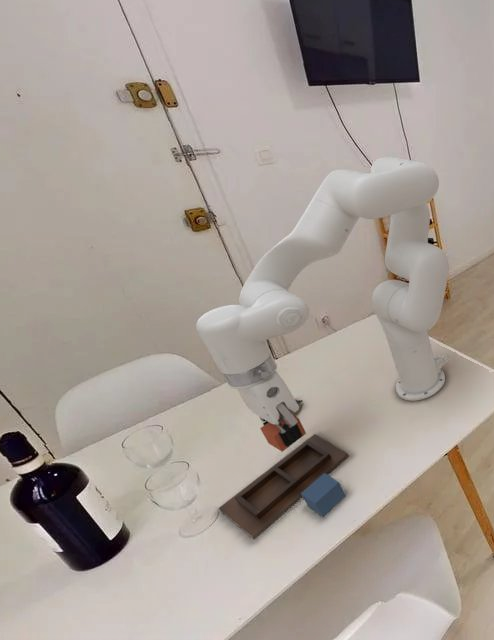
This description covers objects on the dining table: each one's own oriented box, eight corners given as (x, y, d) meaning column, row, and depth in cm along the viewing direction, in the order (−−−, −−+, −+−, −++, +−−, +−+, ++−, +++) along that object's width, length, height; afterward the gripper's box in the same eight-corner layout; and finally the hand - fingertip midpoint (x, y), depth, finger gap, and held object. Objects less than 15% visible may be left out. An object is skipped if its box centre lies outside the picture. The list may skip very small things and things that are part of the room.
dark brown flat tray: (316, 436, 96) (312, 429, 95) (349, 456, 91) (345, 448, 90) (220, 511, 81) (214, 503, 80) (254, 539, 76) (248, 531, 75)
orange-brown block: (292, 425, 87) (285, 410, 85) (306, 433, 85) (298, 418, 83) (268, 443, 83) (259, 428, 81) (282, 451, 81) (273, 436, 79)
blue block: (331, 486, 85) (324, 472, 83) (345, 495, 83) (339, 481, 81) (308, 507, 81) (300, 493, 79) (322, 517, 79) (315, 503, 77)
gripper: (298, 369, 74) (329, 438, 83) (247, 344, 81) (281, 410, 90) (254, 396, 69) (293, 467, 77) (203, 367, 75) (244, 435, 84)
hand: (286, 435), depth 84 cm, fingers closed on orange-brown block, 4 cm apart
